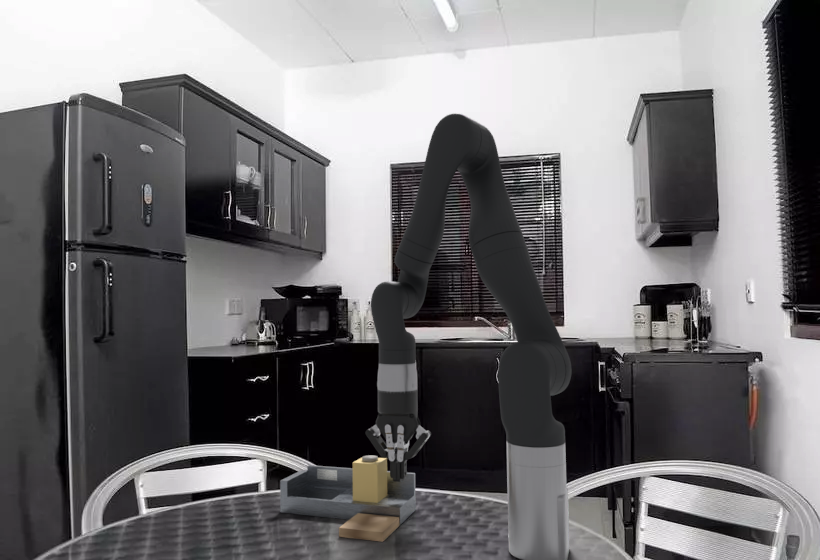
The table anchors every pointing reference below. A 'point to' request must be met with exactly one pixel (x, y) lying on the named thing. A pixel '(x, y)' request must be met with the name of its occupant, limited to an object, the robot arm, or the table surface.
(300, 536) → the table surface
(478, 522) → the table surface
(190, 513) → the table surface
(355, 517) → the pad
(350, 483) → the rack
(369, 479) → the yellow block with dome
